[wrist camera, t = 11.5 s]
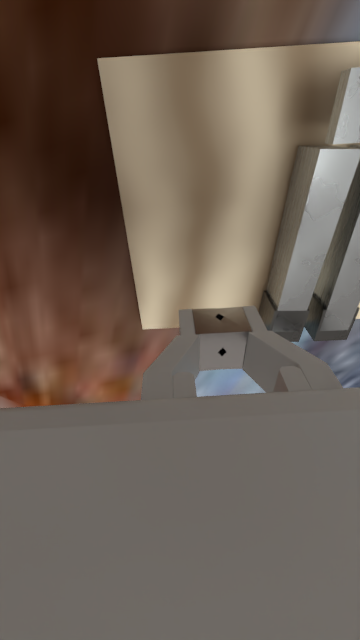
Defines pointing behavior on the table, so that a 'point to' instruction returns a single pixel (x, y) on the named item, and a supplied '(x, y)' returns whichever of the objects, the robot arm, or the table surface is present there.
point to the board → (213, 164)
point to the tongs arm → (306, 234)
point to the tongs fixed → (341, 230)
